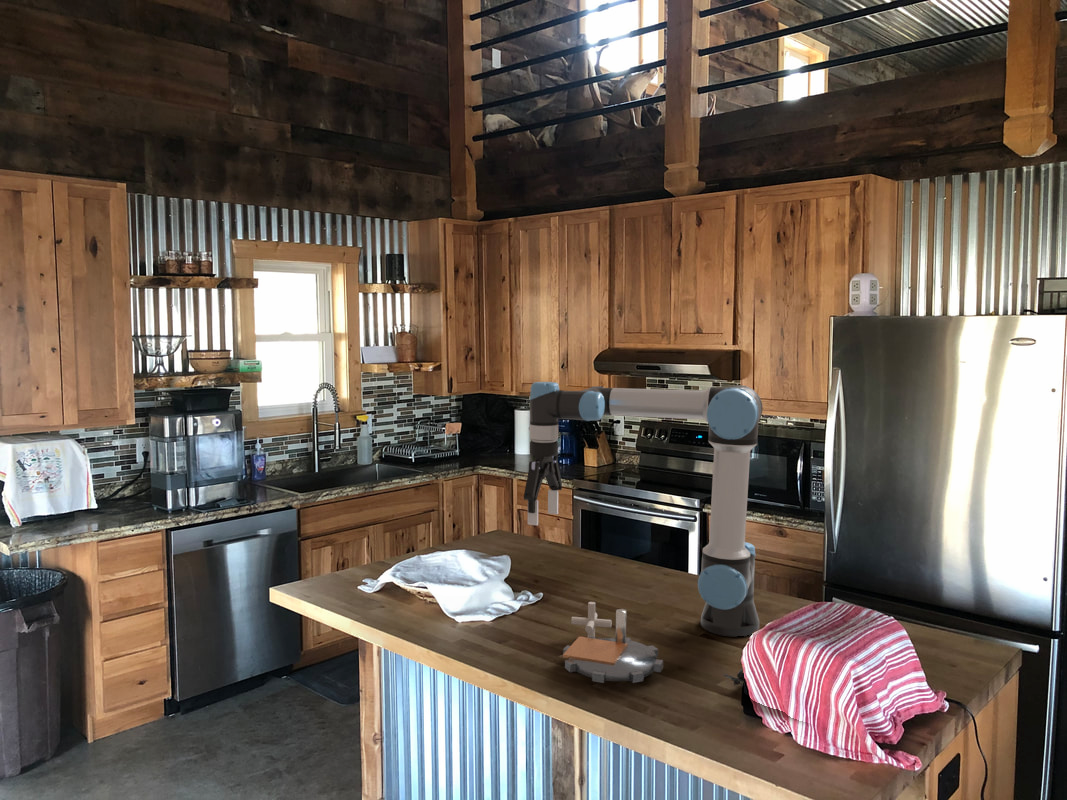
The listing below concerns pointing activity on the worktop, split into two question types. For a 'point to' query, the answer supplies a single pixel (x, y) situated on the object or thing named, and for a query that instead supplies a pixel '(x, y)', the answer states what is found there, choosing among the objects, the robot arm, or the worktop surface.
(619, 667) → the sprocket
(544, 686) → the worktop surface
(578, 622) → the pipe connector
